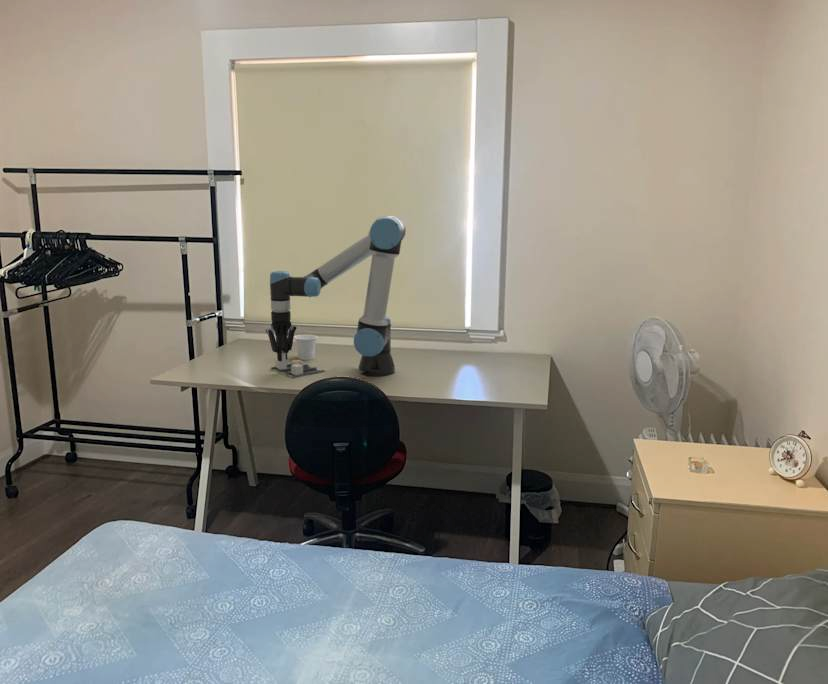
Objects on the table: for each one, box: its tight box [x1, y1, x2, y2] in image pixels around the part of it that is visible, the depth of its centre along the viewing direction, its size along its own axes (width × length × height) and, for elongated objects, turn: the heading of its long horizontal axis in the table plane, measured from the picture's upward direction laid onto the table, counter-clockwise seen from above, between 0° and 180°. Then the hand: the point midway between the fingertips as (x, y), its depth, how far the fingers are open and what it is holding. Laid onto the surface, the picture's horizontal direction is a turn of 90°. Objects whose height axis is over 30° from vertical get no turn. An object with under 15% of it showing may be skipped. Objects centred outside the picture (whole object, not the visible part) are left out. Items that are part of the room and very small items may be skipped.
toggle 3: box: [291, 364, 303, 375], centre depth 276 cm, size 4×3×4 cm
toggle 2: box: [291, 359, 304, 366], centre depth 283 cm, size 4×3×4 cm
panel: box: [269, 362, 327, 379], centre depth 283 cm, size 18×16×2 cm
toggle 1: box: [274, 358, 288, 369], centre depth 284 cm, size 4×3×4 cm
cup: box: [293, 334, 318, 361], centre depth 302 cm, size 10×10×11 cm
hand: (282, 368), depth 278 cm, fingers closed
